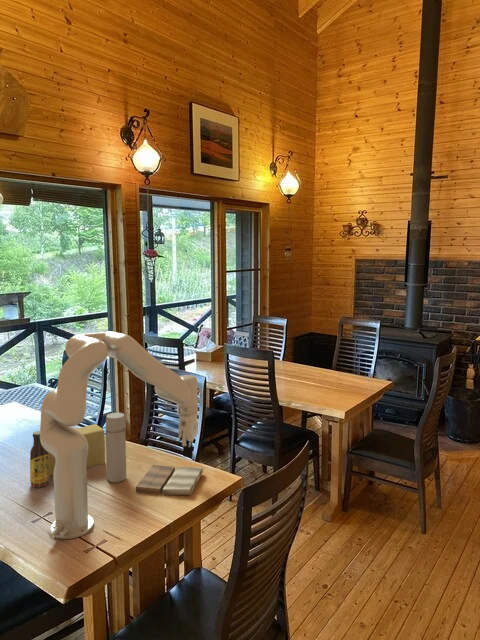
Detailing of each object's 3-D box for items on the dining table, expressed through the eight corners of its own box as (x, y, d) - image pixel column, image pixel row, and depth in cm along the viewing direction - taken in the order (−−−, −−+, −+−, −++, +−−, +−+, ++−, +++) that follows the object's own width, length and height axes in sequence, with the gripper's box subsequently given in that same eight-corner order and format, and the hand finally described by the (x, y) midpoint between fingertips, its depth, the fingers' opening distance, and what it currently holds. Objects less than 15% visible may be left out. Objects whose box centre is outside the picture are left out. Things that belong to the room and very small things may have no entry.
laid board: (159, 494, 169) (159, 488, 169) (135, 491, 171) (135, 486, 170) (174, 471, 187) (174, 466, 187) (153, 469, 188) (152, 464, 188)
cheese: (50, 480, 179) (48, 442, 177) (42, 471, 186) (40, 434, 184) (106, 464, 193) (105, 428, 191) (96, 456, 201) (95, 422, 198)
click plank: (190, 494, 167) (190, 489, 167) (163, 494, 169) (162, 489, 169) (202, 472, 185) (202, 467, 185) (178, 471, 187) (177, 467, 186)
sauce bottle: (35, 490, 171) (32, 437, 169) (27, 484, 175) (24, 433, 173) (52, 484, 176) (50, 432, 173) (44, 478, 180) (42, 428, 178)
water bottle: (122, 484, 176) (120, 419, 173) (102, 482, 178) (100, 417, 174) (132, 473, 185) (131, 411, 182) (113, 471, 186) (112, 410, 183)
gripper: (191, 416, 169) (192, 465, 171) (202, 403, 183) (202, 448, 186) (171, 414, 170) (172, 463, 172) (183, 402, 185) (184, 447, 187)
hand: (188, 455), depth 179 cm, fingers closed
